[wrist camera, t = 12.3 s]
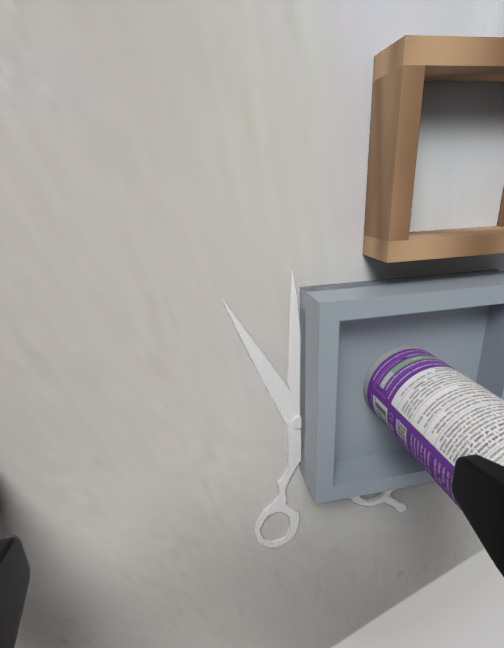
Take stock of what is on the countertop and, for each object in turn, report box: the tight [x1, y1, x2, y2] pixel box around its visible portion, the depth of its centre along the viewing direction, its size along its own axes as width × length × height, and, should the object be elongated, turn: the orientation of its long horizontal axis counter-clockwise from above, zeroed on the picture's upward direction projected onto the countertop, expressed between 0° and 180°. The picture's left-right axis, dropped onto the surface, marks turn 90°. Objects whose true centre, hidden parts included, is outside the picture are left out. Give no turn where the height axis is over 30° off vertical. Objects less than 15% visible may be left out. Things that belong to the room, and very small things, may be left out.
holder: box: [363, 35, 504, 263], centre depth 18 cm, size 9×9×2 cm
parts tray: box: [300, 270, 504, 504], centre depth 22 cm, size 12×12×3 cm
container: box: [363, 346, 504, 509], centre depth 15 cm, size 5×5×15 cm
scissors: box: [221, 270, 406, 548], centre depth 23 cm, size 11×1×20 cm
